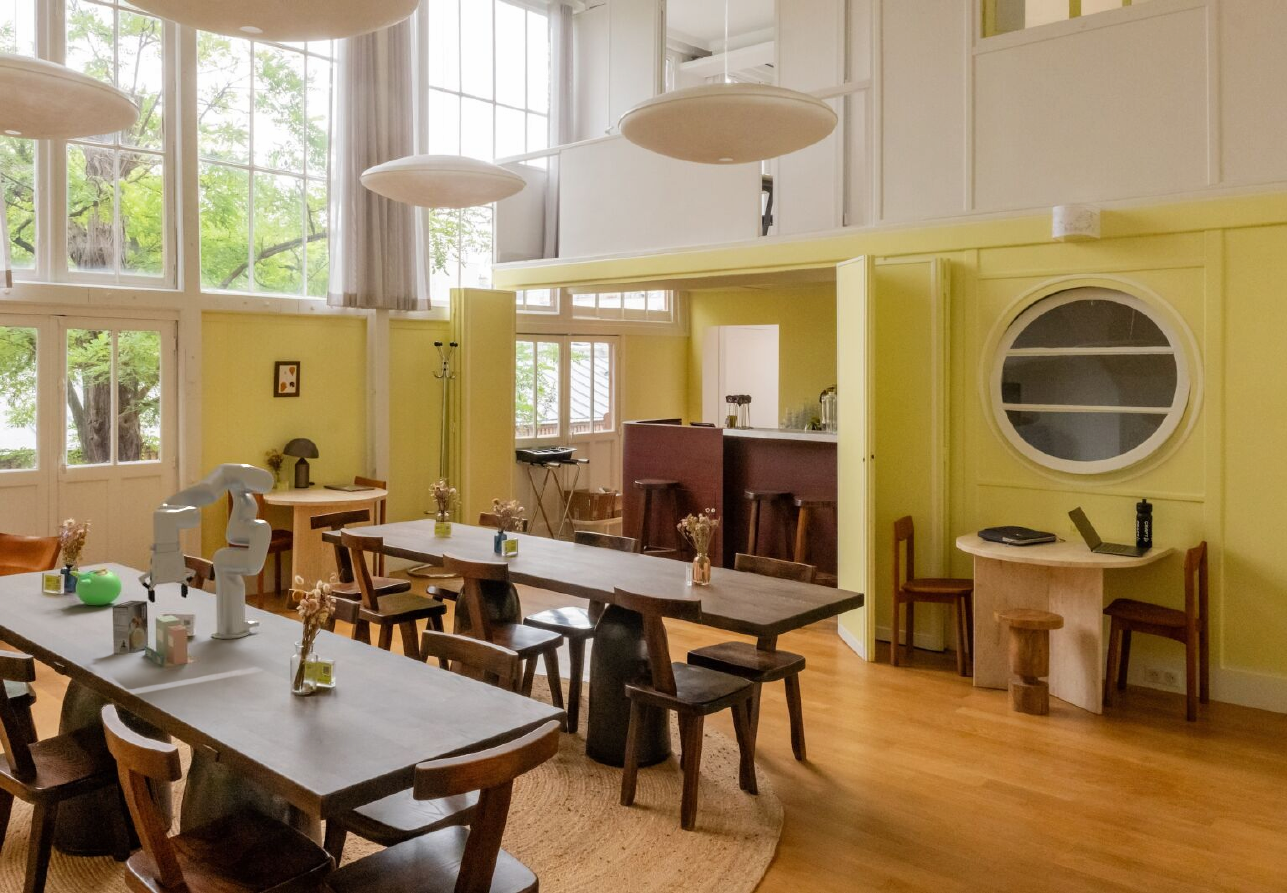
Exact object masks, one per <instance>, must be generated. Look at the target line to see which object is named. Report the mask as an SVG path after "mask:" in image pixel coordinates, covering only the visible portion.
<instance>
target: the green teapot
mask: <svg viewBox="0 0 1287 893" xmlns="http://www.w3.org/2000/svg"><path fill="white" fill-rule="evenodd" d="M107 569H108V567H104V568H100V569H96V570H90V571H88V572H86V573H84V572H80V571H77V570H70V571H69V574H71V575H72V576H73V577H75V578H76V579H77V582H76V583H75V592H76V596H77V597H78V599H79V600H80V601H81V602H83V603H84V604H87V605H88V606H89V605H90V606H103V605H108V604H110V603H112V602H114V601H115V600H117V599H118V598H119V596H120V595H121V592H122V582H121V580H120V577H118V575H116V574H115V572H112V571H110V570H107Z"/></svg>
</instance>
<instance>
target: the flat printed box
mask: <svg viewBox="0 0 1287 893" xmlns="http://www.w3.org/2000/svg"><path fill="white" fill-rule="evenodd" d="M144 655H145V656H146V657H147V658H149V659H150V660H151V661H153V662H154V663H156V664H157V665H159V666H160V667H162V668H164V667H165V668H167V667H172V666H175V665H174V664H172V663H171V662H169V661H168V658H167V659H164V657H163V656H161V655H160V654H158V653H157V652H156V650H154V649H153V648H151V647H150V646H149V645H148V646H147V645H146V646H145V649H144ZM199 661H200V660H199V659H198V658H195V657H194V656H193V655H191V654H189V653H188V663H187V664H189V663H194V662H199ZM183 664H185V663H183ZM183 664H182V665H183ZM177 665H179V664H177ZM177 665H176V666H177Z"/></svg>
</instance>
